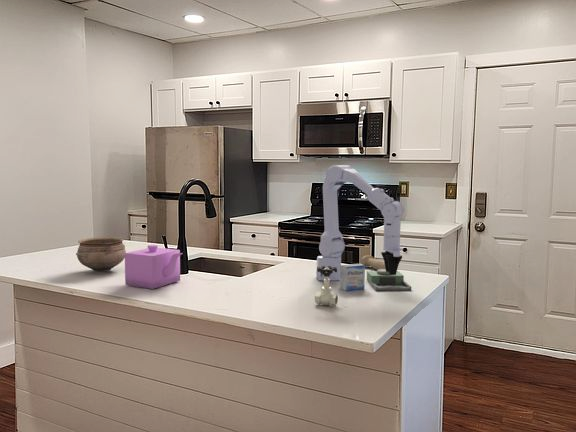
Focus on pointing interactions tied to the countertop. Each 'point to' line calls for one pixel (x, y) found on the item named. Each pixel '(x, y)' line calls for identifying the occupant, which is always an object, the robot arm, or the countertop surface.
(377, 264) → the handle
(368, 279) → the green block with dome
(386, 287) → the gray rectangular tray
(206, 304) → the countertop surface
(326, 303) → the valve
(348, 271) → the medicine box
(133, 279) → the teapot
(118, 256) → the cooking pot
